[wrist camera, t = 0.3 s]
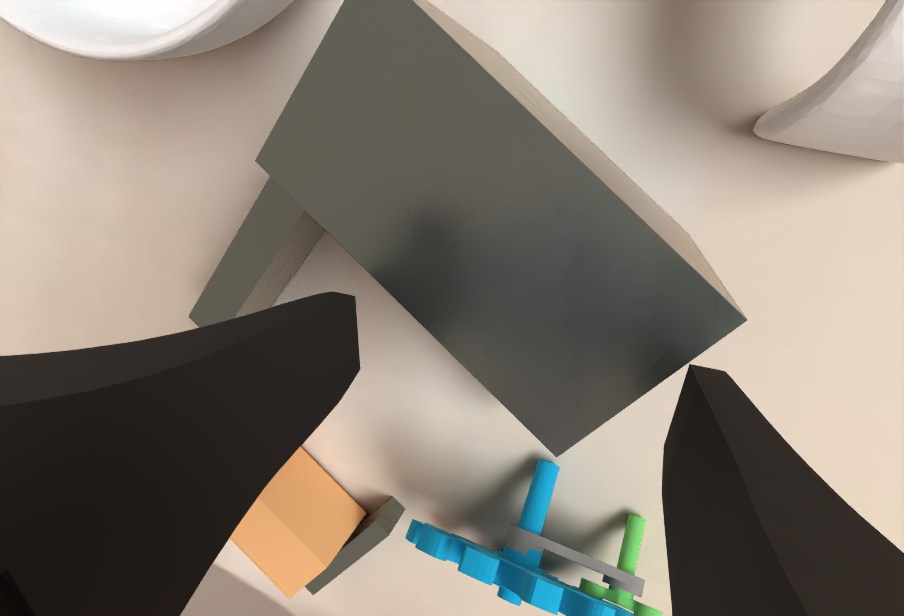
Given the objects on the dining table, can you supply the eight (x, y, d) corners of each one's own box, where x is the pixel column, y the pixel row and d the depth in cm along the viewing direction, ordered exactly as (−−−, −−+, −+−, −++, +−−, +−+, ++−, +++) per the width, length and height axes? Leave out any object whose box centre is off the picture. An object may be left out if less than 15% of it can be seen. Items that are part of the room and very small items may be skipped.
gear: (401, 543, 25) (395, 569, 16) (443, 435, 28) (458, 403, 18) (601, 628, 25) (715, 708, 15) (628, 511, 27) (742, 519, 18)
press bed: (331, 568, 30) (206, 745, 21) (168, 402, 31) (-22, 506, 22) (714, 258, 18) (799, 368, 9) (430, -12, 18) (241, -164, 9)
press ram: (330, 543, 29) (288, 599, 26) (215, 426, 30) (158, 465, 26) (366, 513, 27) (326, 567, 24) (243, 389, 28) (185, 424, 24)
